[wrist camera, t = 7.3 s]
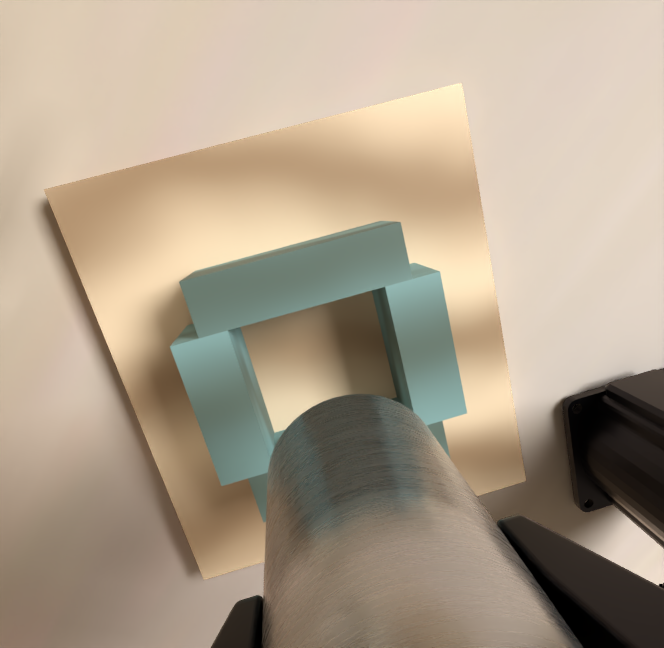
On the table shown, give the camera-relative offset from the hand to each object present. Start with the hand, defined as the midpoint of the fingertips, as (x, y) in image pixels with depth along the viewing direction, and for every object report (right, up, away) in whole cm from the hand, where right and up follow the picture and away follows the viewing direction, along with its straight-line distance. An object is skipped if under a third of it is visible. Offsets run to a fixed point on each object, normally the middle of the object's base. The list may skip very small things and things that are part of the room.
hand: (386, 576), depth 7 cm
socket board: (-2, +3, +13) cm, 13 cm away
